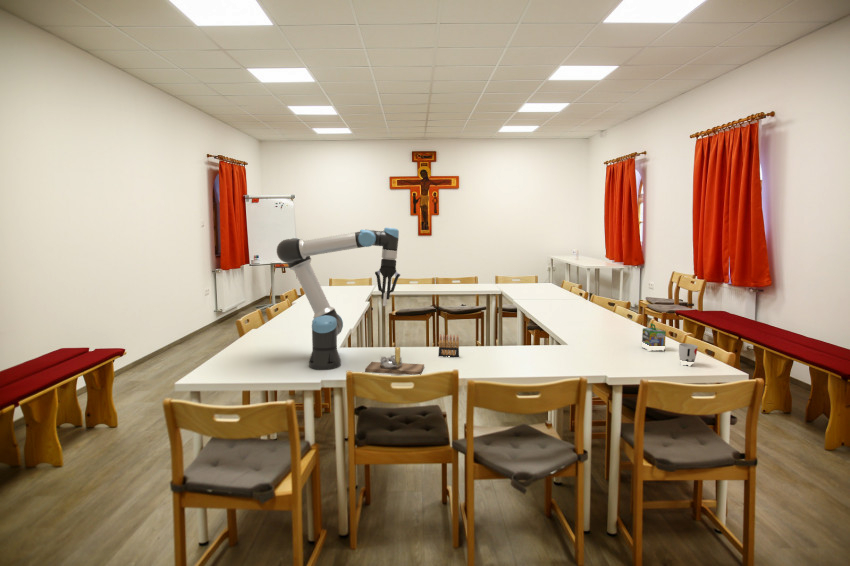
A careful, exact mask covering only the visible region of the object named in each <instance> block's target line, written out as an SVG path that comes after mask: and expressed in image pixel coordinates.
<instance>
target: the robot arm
mask: <svg viewBox="0 0 850 566" xmlns="http://www.w3.org/2000/svg"><path fill="white" fill-rule="evenodd" d="M383 229H384V230H383V231H382V230H374V229H360V230H359V231H356V232H350V233H343V234H342V233H341V234H337V235H331V236H323V237H318V238H317V237H316V238H312V239H306V240H303V238H297V237H296V238H294V237H292V238H286V239H283V240H281V241H280V242H279V243H278V244H277V247H276V255H277V257H278V258H279V260H280V261H282V262H283V263H286V264H287V266H288V268H289V269H290V270H292V271H293V272H294V274H295V275H296V278H297V279H298V281H299V284H300V287H301V288H302V290H303V292H304V294H305V297H306V299H307V301H308V303H309V305H310V307H311V309H312V311H313V317H312V318H313V319H312V321H311V337H312V339H311V341H312V343H311V344H312V345H311V346H312V351H311V355H310V356H309V361H308V367H309V368H310V369H314V370H322V371H323V370H331V369H332V370H333V369H337V368H339V367H340V366H341V365H342V360H341V357H340V355H339V350H338V340H337V339H338V336H339V335H340V333H341V332H342V331H343V327H344V321H343V319H342V317H341V315H339V314H338V313H337V311H336V309H335V307H332V306H331V305H330V303H329V300H328V299H327V297H326V295H325V292H324V290H323V289H322V287H321V284H320V282H319V280H318V278H317V276H316V274H315V271H314V269H313V267H312V265H311V261H312V258H311V256H317V255H324V254H331V253H334V252H335V253H337V252H341V251H347V250H354V249H359V248H360V249H361V248H370V247H372V246H376V247H381V248H382V250H381V260H380V261H381V262H380V266H379V267H380V268H379V270H377V271H374V274H375V277H376V282H377V290H378V291H379V292H381V300H382V307H387V304H388V300H390V297H391V296H390V294H391V293H393V292H394V291H395V289H396V286H397V283H398V280H399V278H400V277H401V274H400V273H398V271H397V258H398V256H397V255H398V249H399V248H398V246H399V237H400V236H399V233H400V232H399V229H398V228H394V227H384V228H383ZM380 275H381V276H382V281H381V276H380ZM393 276H394V280H393V283H392V278H393ZM386 286H387V288H386Z"/></svg>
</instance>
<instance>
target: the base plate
mask: <svg viewBox="0 0 850 566" xmlns="http://www.w3.org/2000/svg"><path fill="white" fill-rule="evenodd" d="M424 369H425V364H424V363H405V362H404V363H403V362H402V366H401V367H400V368H397V369H384V368H382V367H381V366H380V361H371V362H370V363H369V364H368V365H367V366H366V367H365V369H364V372H365V373H375V374H377V373H378V374H380V373H381V374H397V375H412V374H421V375H422V372H423V370H424Z"/></svg>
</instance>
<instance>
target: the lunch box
mask: <svg viewBox="0 0 850 566" xmlns="http://www.w3.org/2000/svg"><path fill="white" fill-rule="evenodd" d="M666 332H667V331H666V330H663V329H661V328H659V327H658V328H657V327H656V325H655V324H654V323H652V322H650V327H644V328H642V335H641V336H642V337H641V339H642V340H641V343H642V342H643V343H645V344H647V345H649V346H665V347H666Z"/></svg>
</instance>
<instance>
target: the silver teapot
mask: <svg viewBox="0 0 850 566" xmlns="http://www.w3.org/2000/svg"><path fill="white" fill-rule="evenodd" d="M402 358H403V357H401V347H400V346H395V347H394V355H391V356H390V357H389V356H388V357H386V356H381V358H380V361H379V362H380V366H381V367H382V368H384V369H397V368H400V367H401V366H402V363H403V362H402V361H403V359H402Z"/></svg>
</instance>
